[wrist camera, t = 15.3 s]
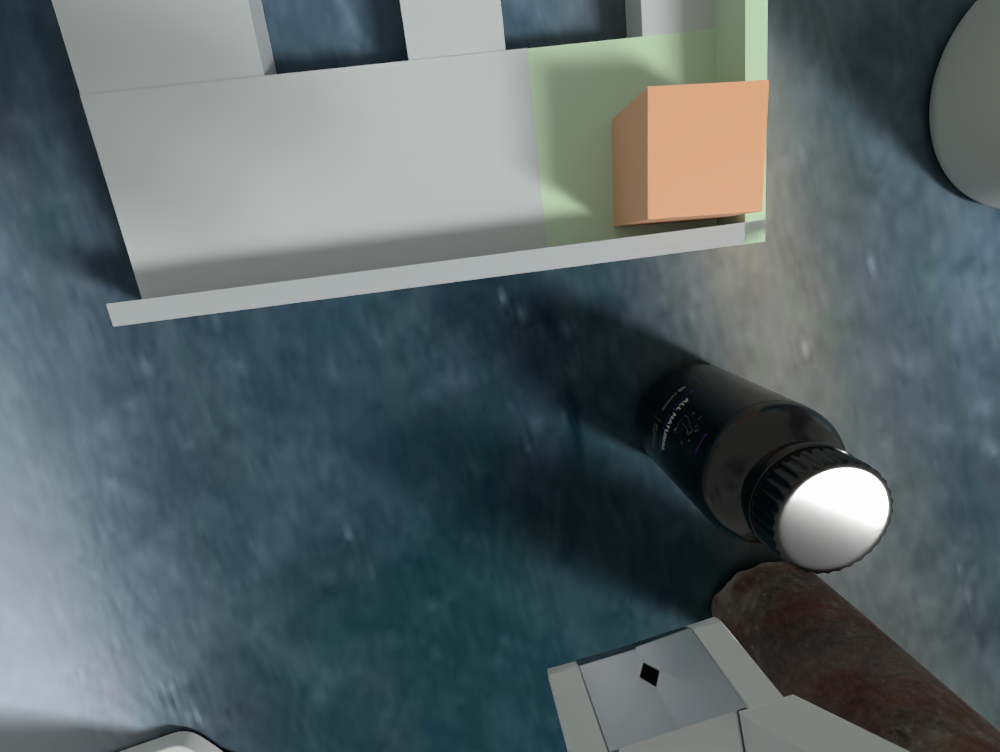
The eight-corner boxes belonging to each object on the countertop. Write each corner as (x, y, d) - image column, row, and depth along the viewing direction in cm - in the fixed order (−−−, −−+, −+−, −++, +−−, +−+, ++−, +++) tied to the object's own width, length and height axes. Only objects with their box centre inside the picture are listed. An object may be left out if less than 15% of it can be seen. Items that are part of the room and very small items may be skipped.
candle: (762, 528, 32) (1243, 950, 12) (834, 580, 33) (1364, 1030, 14) (687, 611, 33) (1022, 1121, 13) (761, 658, 34) (1157, 1178, 15)
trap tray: (172, 315, 25) (113, 326, 21) (54, -90, 21) (-52, -183, 17) (715, 244, 27) (765, 241, 23) (710, -146, 23) (770, -243, 18)
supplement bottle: (622, 378, 28) (737, 458, 17) (731, 348, 28) (920, 408, 17) (642, 479, 30) (758, 617, 18) (745, 451, 30) (925, 570, 19)
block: (613, 227, 24) (647, 219, 20) (611, 119, 23) (647, 86, 19) (707, 220, 25) (761, 211, 20) (711, 113, 23) (768, 79, 19)
